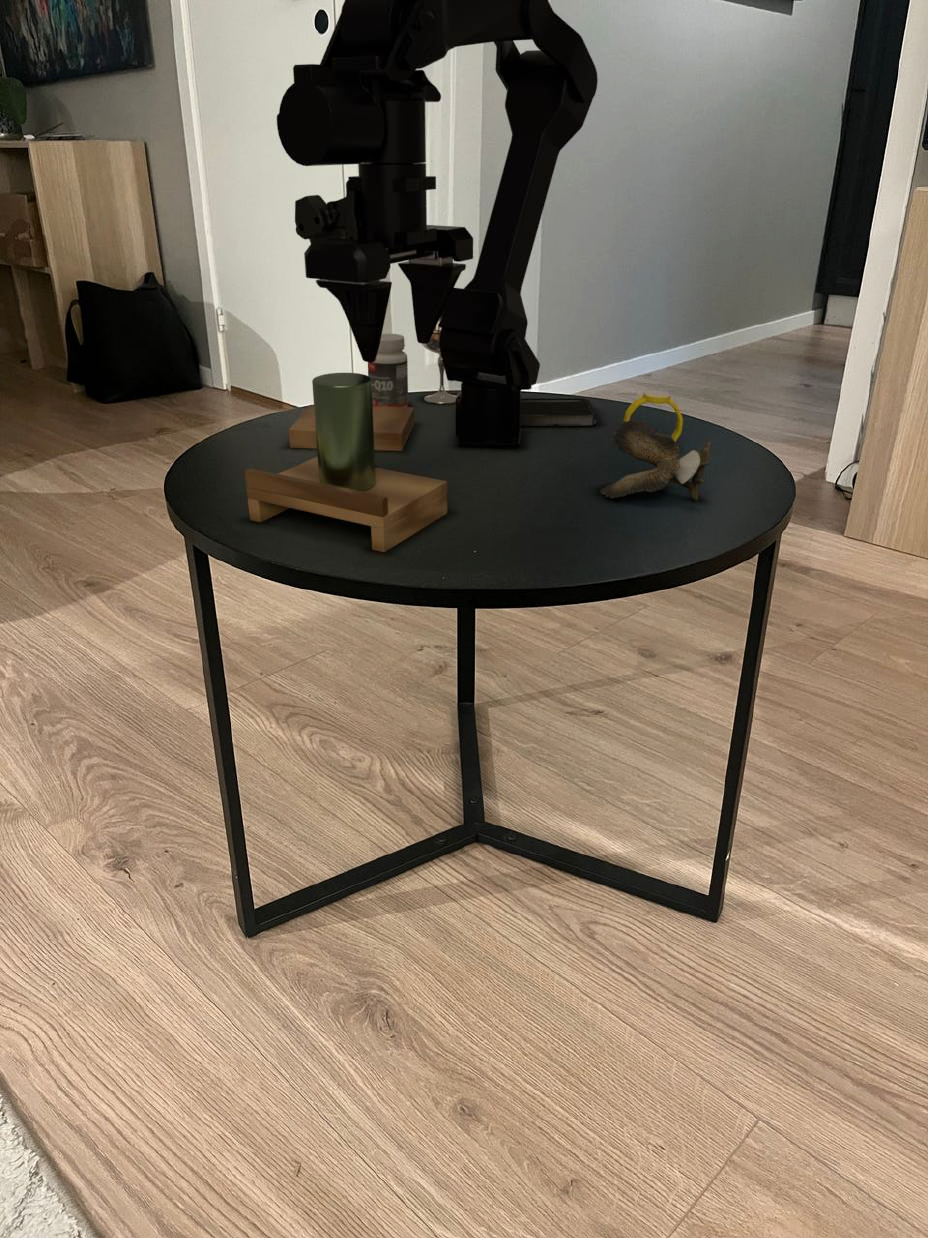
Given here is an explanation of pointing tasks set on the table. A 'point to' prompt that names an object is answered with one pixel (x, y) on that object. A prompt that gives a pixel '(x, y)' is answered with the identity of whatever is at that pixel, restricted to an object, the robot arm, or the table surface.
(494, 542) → the table surface
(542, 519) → the table surface
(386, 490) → the shelf
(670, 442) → the eagle figurine
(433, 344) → the wineglass
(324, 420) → the green tumbler
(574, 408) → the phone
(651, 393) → the watch
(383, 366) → the pill bottle
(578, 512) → the table surface
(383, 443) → the wooden block
